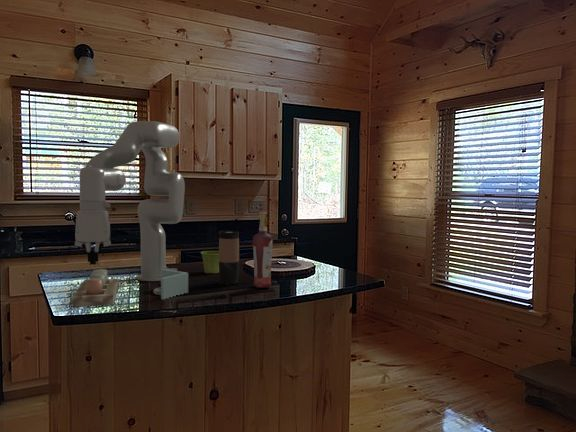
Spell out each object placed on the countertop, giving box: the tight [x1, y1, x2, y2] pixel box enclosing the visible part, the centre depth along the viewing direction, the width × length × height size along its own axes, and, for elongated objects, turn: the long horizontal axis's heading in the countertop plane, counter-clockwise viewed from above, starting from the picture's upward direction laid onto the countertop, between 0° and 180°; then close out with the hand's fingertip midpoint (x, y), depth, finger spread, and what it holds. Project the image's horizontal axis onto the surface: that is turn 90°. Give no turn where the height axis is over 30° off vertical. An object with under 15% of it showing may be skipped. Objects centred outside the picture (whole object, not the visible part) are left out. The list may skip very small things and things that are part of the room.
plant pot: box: [200, 250, 219, 274], centre depth 208 cm, size 9×9×9 cm
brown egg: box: [86, 278, 103, 295], centre depth 157 cm, size 5×5×5 cm
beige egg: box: [92, 268, 108, 284], centre depth 172 cm, size 5×5×5 cm
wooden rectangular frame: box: [71, 278, 120, 308], centre depth 165 cm, size 12×26×3 cm, turn 15°
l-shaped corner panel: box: [153, 269, 189, 300], centre depth 169 cm, size 12×12×8 cm
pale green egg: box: [89, 273, 105, 289], centre depth 165 cm, size 5×5×5 cm
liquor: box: [252, 211, 274, 289], centre depth 180 cm, size 7×7×28 cm
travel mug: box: [218, 229, 240, 286], centre depth 187 cm, size 8×8×20 cm
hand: (93, 264), depth 156 cm, fingers closed
